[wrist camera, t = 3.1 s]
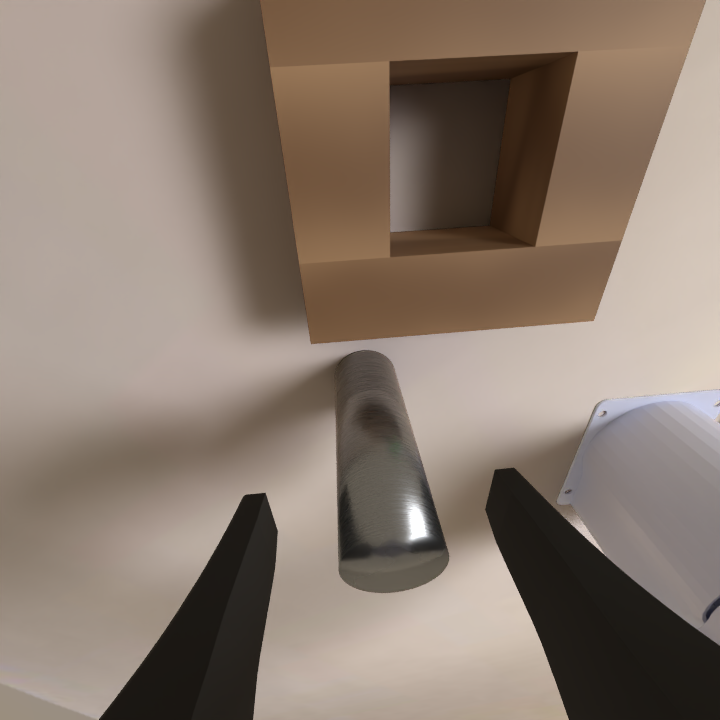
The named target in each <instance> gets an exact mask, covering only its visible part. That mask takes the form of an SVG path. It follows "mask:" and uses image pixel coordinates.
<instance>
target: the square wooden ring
mask: <svg viewBox="0 0 720 720" xmlns="http://www.w3.org/2000/svg"><path fill="white" fill-rule="evenodd" d="M705 2H706V0H260V4H261V11H262V18H263V25H264V31H265V38H266V45H267V52H268V58H269V65H270V72H271V79H272V85H273V92H274V99H275V105H276V112H277V119H278V126H279V132H280V139H281V146H282V153H283V159H284V166H285V173H286V180H287V186H288V193H289V200H290V206H291V213H292V220H293V227H294V233H295V240H296V247H297V254H298V260H299V267H300V274H301V281H302V287H303V294H304V301H305V307H306V314H307V321H308V328H309V334H310V341H311V344H317V343H329V342H341V341H354V340H366V339H378V338H390V337H403V336H415V335H427V334H439V333H452V332H464V331H476V330H488V329H500V328H513V327H525V326H537V325H549V324H562V323H574V322H586V321H594V318H595V316H596V313H597V310H598V307H599V304H600V301H601V298H602V296H603V293H604V290H605V287H606V284H607V281H608V278H609V276H610V273H611V270H612V267H613V264H614V261H615V259H616V256H617V253H618V250H619V247H620V244H621V241H622V239H623V236H624V233H625V230H626V227H627V224H628V221H629V219H630V216H631V213H632V210H633V207H634V204H635V201H636V199H637V196H638V193H639V190H640V187H641V184H642V182H643V179H644V176H645V173H646V170H647V167H648V164H649V162H650V159H651V156H652V153H653V150H654V147H655V144H656V142H657V139H658V136H659V133H660V130H661V127H662V125H663V122H664V119H665V116H666V113H667V110H668V107H669V105H670V102H671V99H672V96H673V93H674V90H675V87H676V85H677V82H678V79H679V76H680V73H681V70H682V67H683V65H684V62H685V59H686V56H687V53H688V50H689V48H690V45H691V42H692V39H693V36H694V33H695V30H696V28H697V25H698V22H699V19H700V16H701V13H702V10H703V8H704V5H705ZM499 79H511V81H510V88H509V95H508V101H507V108H506V115H505V122H504V129H503V136H502V143H501V150H500V157H499V164H498V170H497V177H496V184H495V191H494V198H493V205H492V212H491V219H490V226H476V227H462V228H448V229H434V230H419V231H405V232H391V233H390V98H389V85H407V84H425V83H443V82H462V81H480V80H499Z"/></svg>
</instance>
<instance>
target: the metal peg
mask: <svg viewBox="0 0 720 720" xmlns="http://www.w3.org/2000/svg"><path fill="white" fill-rule="evenodd" d="M335 409H336V458H337V507H338V556H339V574H340V576H341V578H342V579H343V580H344V581H345V582H346V583H347V584H348V585H350V586H352V587H354V588H356V589H359V590H363V591H367V592H375V593H390V592H399V591H405V590H409V589H413V588H416V587H419V586H421V585H423V584H426V583H428V582H430V581H431V580H433V579H434V578H436V577H437V576H439V575H440V574H441V573H442V572H443V571H444V569H445V568H446V566H447V564H448V562H449V553H448V549H447V546H446V542H445V539H444V536H443V532H442V529H441V525H440V522H439V519H438V515H437V512H436V508H435V505H434V502H433V498H432V495H431V492H430V488H429V485H428V481H427V478H426V475H425V471H424V468H423V464H422V461H421V458H420V454H419V451H418V447H417V444H416V441H415V437H414V434H413V430H412V427H411V424H410V420H409V417H408V414H407V410H406V407H405V403H404V400H403V397H402V393H401V390H400V386H399V383H398V380H397V376H396V373H395V369H394V366H393V364H392V363H391V361H390V360H389V359H388V358H387V357H386V356H384V355H383V354H381V353H379V352H376V351H369V350H363V351H358V352H354V353H352V354H350V355H348V356H347V357H345V358H344V359H343V360H342V361H341V362H340V363H339V365H338V366H337V368H336V372H335Z"/></svg>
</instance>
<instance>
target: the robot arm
mask: <svg viewBox="0 0 720 720" xmlns="http://www.w3.org/2000/svg"><path fill="white" fill-rule="evenodd" d="M719 400H720V389H716V390H705V391H694V392H683V393H672V394H661V395H650V396H639V397H628V398H617V399H606V400H603V401H601V402H599V403H598V404H597V405H596V407H595V409H594V412H593V414H592V416H591V419H590V421H589V424H588V426H587V428H586V431H585V433H584V436H583V438H582V440H581V443H580V445H579V448H578V450H577V452H576V455H575V457H574V460H573V462H572V464H571V467H570V469H569V472H568V474H567V476H566V479H565V481H564V484H563V486H562V488H561V491H560V493H559V496H558V498H557V501H556V502H557V504H559V505H568V504H571V505H572V507H573V508H574V510H575V511H576V513H577V514H578V516H579V517H580V519H581V520H582V522H583V523H584V525H585V526H586V527H587V529H588V530H589V532H590V533H591V535H592V536H593V538H594V539H595V541H596V542H597V544H598V545H599V547H600V548H601V549H602V551H603V552H604V554H605V555H606V556H605V555H604V554H603V553H602V552H601V551H599V550H598V549H597V548H596V547H595V546H594V545H593V544H592V543H591V542H589V541H588V540H587V539H586V538H585V537H584V536H583V535H582V534H581V533H580V532H579V531H578V530H577V529H576V528H575V527H573V526H572V525H571V524H570V523H569V522H568V521H567V520H566V519H565V518H564V517H563V516H562V515H561V514H560V513H559V512H558V511H557V510H556V509H555V508H554V507H553V506H552V505H551V504H550V503H549V502H548V501H547V500H546V499H545V498H544V497H543V496H542V495H541V494H540V493H539V492H538V491H537V490H536V489H535V488H534V487H533V486H532V485H531V484H530V483H529V482H528V481H527V480H526V479H525V478H524V477H523V476H522V475H521V474H520V473H519V472H518V471H517V470H516V469H515V468H506V469H496V470H495V472H494V476H493V480H492V484H491V488H490V492H489V496H488V500H487V505H486V509H485V510H486V513H487V516H488V519H489V522H490V525H491V528H492V531H493V534H494V537H495V540H496V543H497V545H498V547H499V550H500V552H501V554H502V556H503V558H504V561H505V563H506V565H507V567H508V569H509V572H510V574H511V576H512V578H513V580H514V582H515V585H516V587H517V589H518V591H519V593H520V596H521V598H522V600H523V602H524V604H525V606H526V609H527V611H528V613H529V615H530V617H531V619H532V622H533V624H534V626H535V629H536V631H537V633H538V636H539V638H540V641H541V643H542V646H543V648H544V651H545V654H546V657H547V659H548V662H549V665H550V668H551V670H552V673H553V676H554V678H555V681H556V684H557V687H558V690H559V692H560V695H561V698H562V701H563V704H564V707H565V710H566V713H567V715H568V718H569V720H720V423H718V422H717V421H715V419H716V417H717V416H718V415H719V413H720V404H718V405H716V406H714V404H715V403H716V402H717V401H719ZM601 411H606V413H605V414H604V415H602V416H600V417H599V416H598V414H599V413H600V412H601ZM569 489H570V490H571V491H570V492H568V493H565V491H567V490H569ZM277 534H278V531H277V528H276V524H275V521H274V518H273V515H272V512H271V509H270V506H269V502H268V499H267V496H266V493H259V494H250V495H245V496H244V497H243V498H242V500H241V502H240V504H239V506H238V508H237V510H236V512H235V514H234V516H233V518H232V520H231V522H230V524H229V526H228V528H227V530H226V531H225V533H224V535H223V537H222V539H221V541H220V542H219V544H218V546H217V548H216V549H215V551H214V553H213V555H212V556H211V558H210V560H209V561H208V563H207V565H206V567H205V568H204V570H203V572H202V574H201V575H200V577H199V578H198V580H197V582H196V583H195V585H194V586H193V588H192V590H191V591H190V593H189V594H188V596H187V598H186V599H185V601H184V602H183V604H182V605H181V607H180V609H179V610H178V612H177V613H176V615H175V616H174V618H173V619H172V621H171V622H170V624H169V625H168V627H167V628H166V630H165V631H164V633H163V634H162V635H161V637H160V638H159V640H158V641H157V643H156V644H155V645H154V647H153V648H152V650H151V651H150V653H149V654H148V655H147V657H146V658H145V660H144V661H143V662H142V664H141V665H140V666H139V668H138V669H137V670H136V672H135V673H134V674H133V676H132V677H131V678H130V680H129V681H128V682H127V684H126V685H125V686H124V688H123V689H122V690H121V692H120V693H119V694H118V696H117V697H116V698H115V700H114V701H113V702H112V703H111V705H110V706H109V707H108V709H107V710H106V711H105V712H104V714H103V715H102V716H101V718H100V719H99V720H253V714H254V703H255V693H256V683H257V674H258V666H259V659H260V653H261V647H262V641H263V635H264V630H265V624H266V618H267V612H268V607H269V601H270V595H271V589H272V583H273V577H274V571H275V563H276V550H277Z"/></svg>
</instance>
